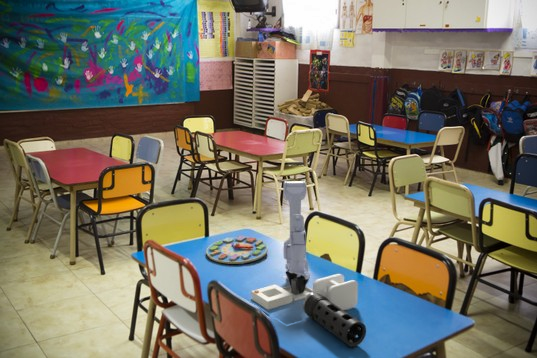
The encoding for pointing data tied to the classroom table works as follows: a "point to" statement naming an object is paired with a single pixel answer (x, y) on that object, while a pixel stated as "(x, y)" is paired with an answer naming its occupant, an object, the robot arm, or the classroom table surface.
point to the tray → (299, 296)
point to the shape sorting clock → (237, 250)
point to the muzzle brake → (334, 319)
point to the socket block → (271, 296)
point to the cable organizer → (337, 290)
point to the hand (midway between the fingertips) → (297, 289)
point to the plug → (294, 287)
